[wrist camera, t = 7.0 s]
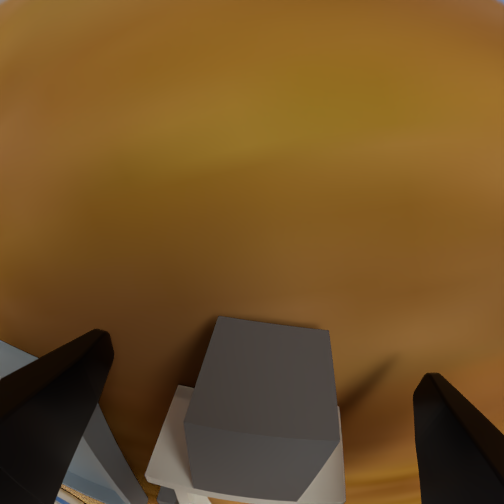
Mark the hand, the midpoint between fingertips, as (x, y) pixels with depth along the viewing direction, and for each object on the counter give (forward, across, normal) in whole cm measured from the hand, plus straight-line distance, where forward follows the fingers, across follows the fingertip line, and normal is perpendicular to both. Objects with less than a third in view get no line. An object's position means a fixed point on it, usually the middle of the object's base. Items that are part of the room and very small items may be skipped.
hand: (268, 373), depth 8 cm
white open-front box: (+2, 0, +6) cm, 6 cm away
